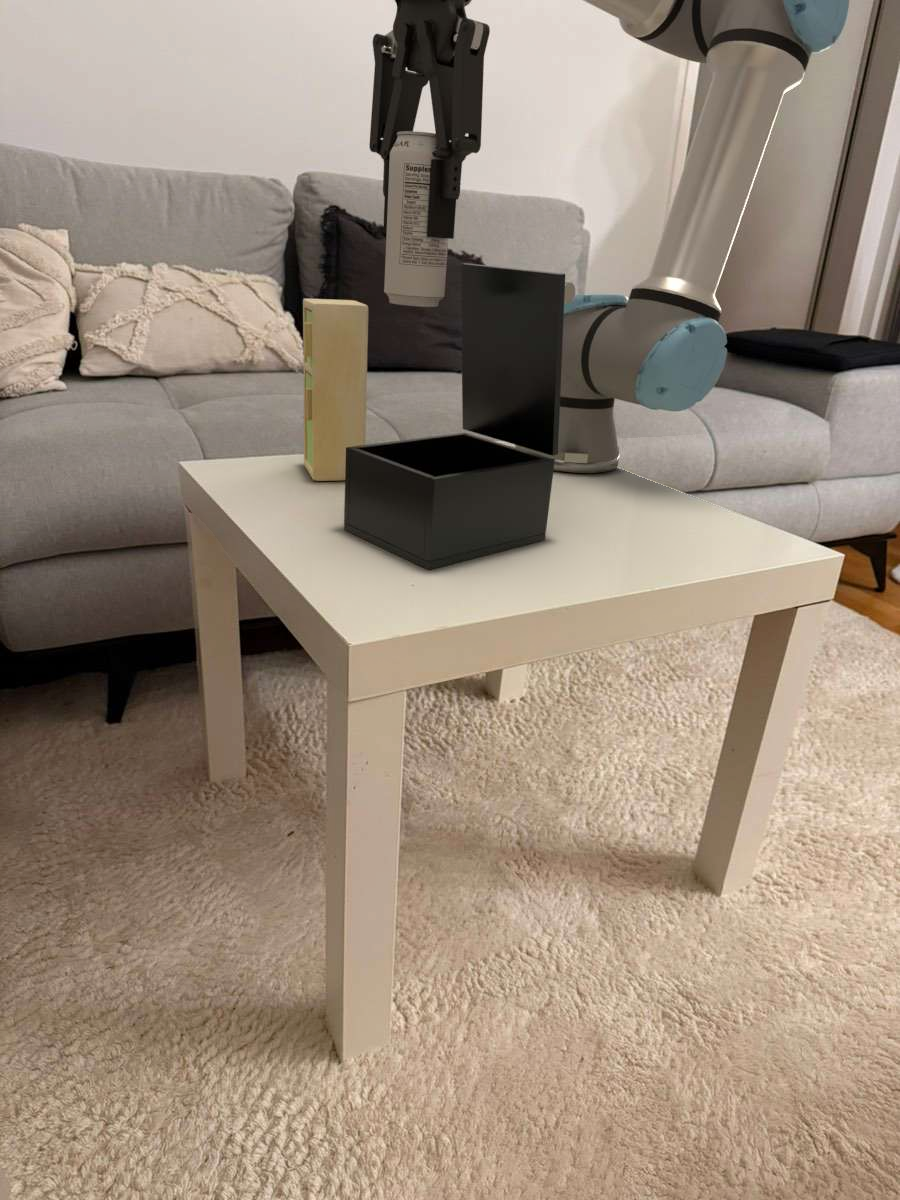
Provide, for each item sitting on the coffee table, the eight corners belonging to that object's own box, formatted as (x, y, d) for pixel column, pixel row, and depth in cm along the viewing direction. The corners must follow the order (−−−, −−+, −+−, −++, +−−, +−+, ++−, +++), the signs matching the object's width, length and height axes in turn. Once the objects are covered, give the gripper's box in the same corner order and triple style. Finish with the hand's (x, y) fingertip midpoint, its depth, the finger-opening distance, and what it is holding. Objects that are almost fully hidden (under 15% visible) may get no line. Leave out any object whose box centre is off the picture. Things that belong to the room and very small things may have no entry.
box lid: (560, 274, 79) (603, 267, 83) (460, 263, 88) (503, 258, 92) (552, 456, 87) (592, 442, 91) (462, 429, 96) (501, 417, 100)
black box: (428, 570, 80) (434, 479, 77) (343, 529, 89) (345, 447, 86) (545, 540, 91) (555, 459, 87) (458, 506, 100) (464, 432, 96)
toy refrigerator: (297, 465, 112) (297, 296, 104) (352, 464, 114) (356, 299, 106) (306, 481, 105) (307, 302, 97) (364, 481, 107) (370, 305, 99)
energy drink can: (434, 303, 89) (444, 141, 83) (451, 308, 83) (463, 135, 78) (377, 299, 87) (384, 134, 81) (391, 305, 82) (399, 128, 76)
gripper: (334, -47, 78) (330, 229, 87) (476, -90, 65) (453, 239, 74) (399, -26, 82) (388, 233, 91) (543, -62, 70) (514, 243, 79)
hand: (417, 235), depth 83 cm, fingers closed on energy drink can, 6 cm apart
